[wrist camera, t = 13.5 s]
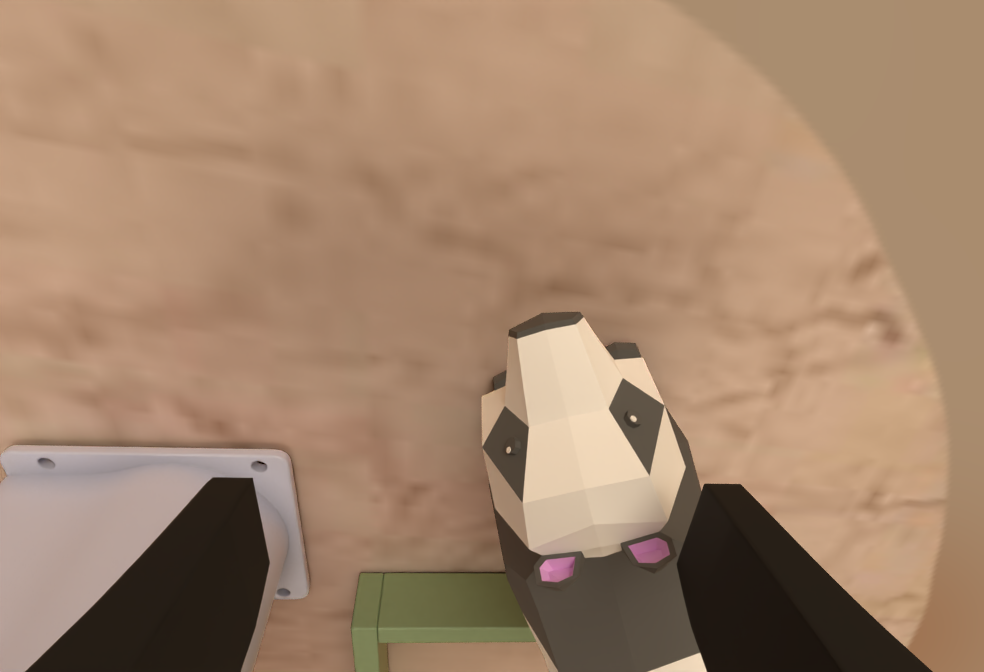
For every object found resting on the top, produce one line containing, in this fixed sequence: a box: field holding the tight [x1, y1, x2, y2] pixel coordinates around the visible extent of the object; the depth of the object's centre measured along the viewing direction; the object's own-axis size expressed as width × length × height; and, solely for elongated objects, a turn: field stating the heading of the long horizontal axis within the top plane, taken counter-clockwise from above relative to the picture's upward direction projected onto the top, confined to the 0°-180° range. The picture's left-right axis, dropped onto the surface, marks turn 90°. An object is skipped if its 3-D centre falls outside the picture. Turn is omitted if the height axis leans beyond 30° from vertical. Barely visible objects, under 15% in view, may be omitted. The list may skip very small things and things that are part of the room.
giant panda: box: [482, 312, 707, 672], centre depth 17 cm, size 15×6×10 cm, turn 16°
